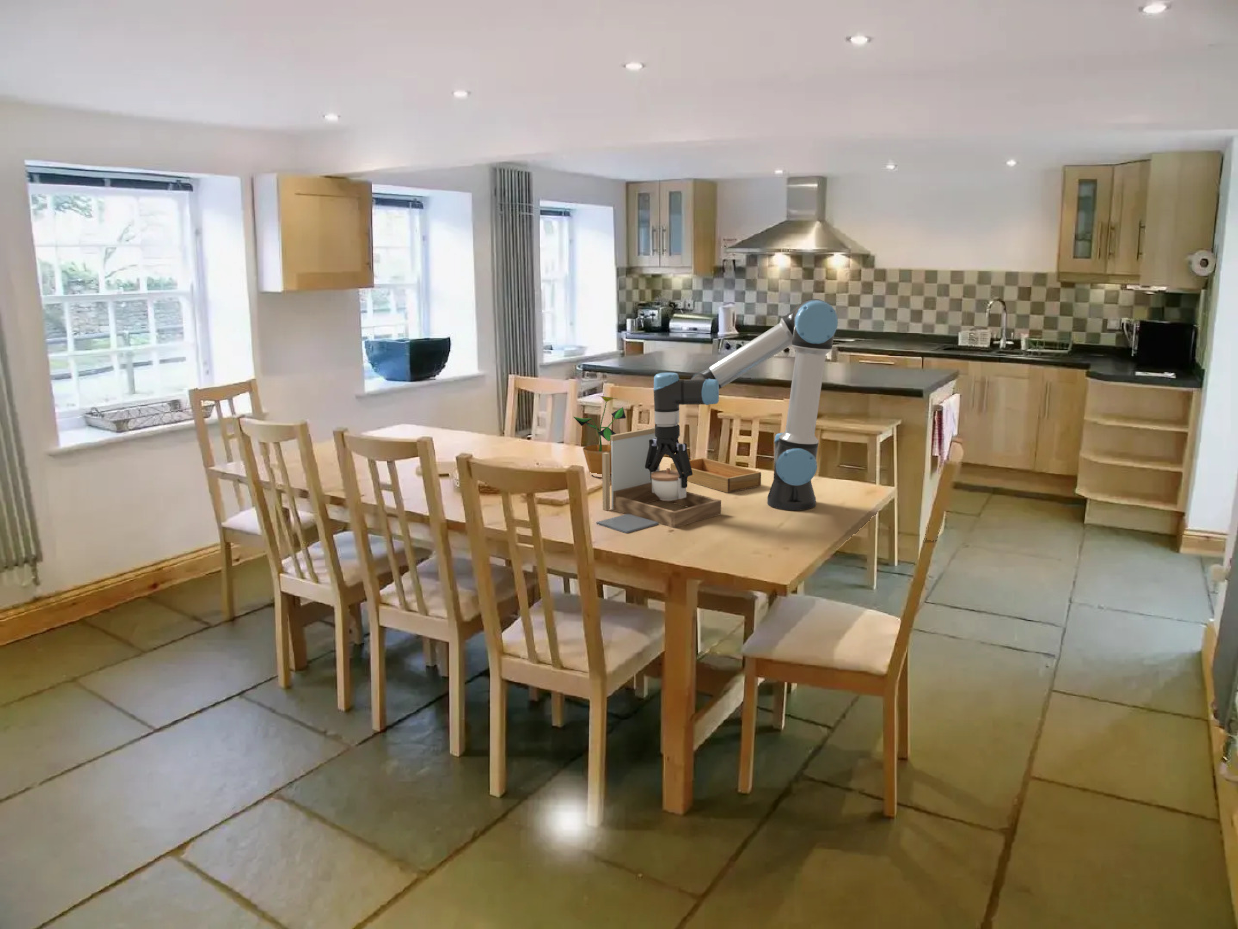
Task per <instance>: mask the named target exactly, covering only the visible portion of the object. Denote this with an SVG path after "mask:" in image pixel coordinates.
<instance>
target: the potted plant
mask: <svg viewBox="0 0 1238 929" xmlns="http://www.w3.org/2000/svg"><path fill="white" fill-rule="evenodd" d="M596 397H598V395H596ZM599 397H601V398H602V399H603V401H604V402H605V405H604V409H603V413H602V416H601V420H600V424H599V428H598V426H597V425H596V423H595V421H594V420H593V418H591V417H590V418H589V417H588V418H582V417H577V416H573V418H574V419H575V420H576V422H577V423H578V424H579V425H580V426H582V427H583V426H584V425H585V424H586V425H587V427H590V428H592V429H595V430H596V431H597V434H598V437H599V444H589V445H586V446H584V447H582V451H583V454H584V458H585V461H586V464H587V469H588V473H590V472H591V473H597V474H602V453H609V456H610V474H611V444H603V443H602V437H603V439H605V441H607V442H610V441H611V438H610V435H615V434H617V433H616V432H615V431H614V430H612V429H611V427H610V426H611V425H612V424H613V422H614V421H615V420H621V419H624V420H625V419H627V416H626V413H625V411H624V407H623V406H622V407H621V408H619V409H617V410H615V411H613V412H612V413H611V416H612V417H613V418H614V419H613V420H612V421H611V422H610V423H609V424H608V425H607V426H602V423H603V419H604V416H605V413H606V408H607V402H610V401H611V400H617V397H616V398H615V397H609V396H603V395H599ZM589 421H592V423H593V424H592V423H589Z"/></svg>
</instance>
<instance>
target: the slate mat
mask: <svg viewBox="0 0 1238 929" xmlns="http://www.w3.org/2000/svg"><path fill="white" fill-rule="evenodd" d="M598 524H599V526H602V527H605V528H609V529H611V530H615V531H617V532H621V533H624V534H628V533H633V532H636V531H639V530H644V529H648V528H650V527H654V526H657V525H659V522H656V521H652V520H649V519H645V518H642V517H638V516H635V515H631V514H625V513H624V514H622V515H618V516H615V517H610V518H607V519H603V520H599V521H596V525H598Z"/></svg>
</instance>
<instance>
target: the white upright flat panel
mask: <svg viewBox="0 0 1238 929" xmlns="http://www.w3.org/2000/svg"><path fill="white" fill-rule="evenodd" d="M610 438H611V440H610V441H611V442H610V445H611V475H610V456H609V453H602V477H601V478H602V481H601V482H602V510H604V511H609V510H612V511H614V510H613V491H618V490H622V489H626V488H630V487H634V486H639V485H643V484H647V483H651V482H652V481H651V480H650V471H649V469H646V468H645V464H646V459H647V455H648V450H649V440H650V439H655V438H656V437H655V426H653V427H651V428H650V427H649V428H644V429H643V428H642V429H639V430H631V431H627V432H621V433H616V434H615V435H610ZM656 439H657V438H656ZM657 449H658V446H657ZM658 469H659V470H656V471H661V465H659V467H658ZM610 479H611V480H610ZM610 483H611V484H610Z"/></svg>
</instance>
